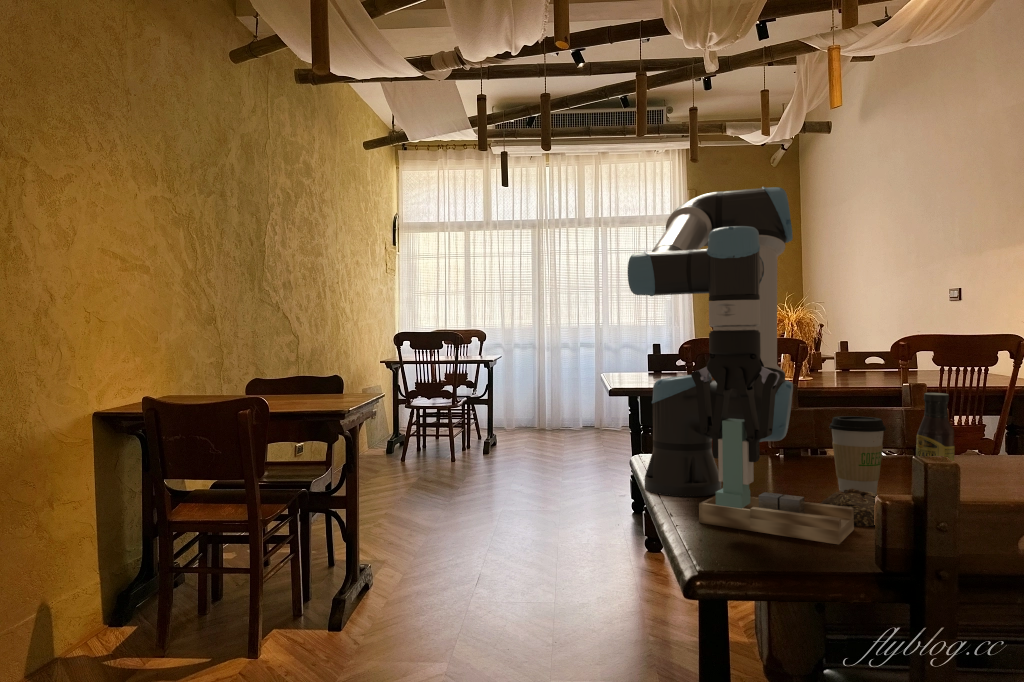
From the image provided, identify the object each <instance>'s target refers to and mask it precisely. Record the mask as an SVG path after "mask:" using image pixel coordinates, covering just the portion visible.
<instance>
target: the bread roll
mask: <svg viewBox="0 0 1024 682" xmlns="http://www.w3.org/2000/svg"><path fill="white" fill-rule="evenodd" d="M877 495H879V494H878V493H876V494H874V493H872V492H864V491H859V490H856V489H847V490H844V492H842V491H839V490H838V491H836V492H833V493H832V494H830V495H829V496H828V497H826V499H823V500H822V501H821V502H819V503H820V504H828V505H836V506H844V507H852V508H854V527H859V526H864V527H863V528H869V527H870V526H871V527H875V526H874V505H875V497H876V496H877Z"/></svg>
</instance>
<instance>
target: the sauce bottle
mask: <svg viewBox="0 0 1024 682" xmlns="http://www.w3.org/2000/svg"><path fill="white" fill-rule="evenodd" d="M923 401H924V413H923V415H924V416H923V418H922V419H921V423H920V425H919V428H918V430H917V433H916V439H915V441H916V443H915V444H916V447H915V457H916V456H944V457H948V458H949V459H950V460H952V461H954V462H955V448H956V447H955V430H954V428H953V426H952V424H951V423H950V421H949V418H948V417H949V414H948V407H949V406H948V405H949V404H948V403H949V401H950V395H949V394H948V393H944V392H943V393H942V392H925V393H924V395H923Z"/></svg>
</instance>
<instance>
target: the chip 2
mask: <svg viewBox="0 0 1024 682" xmlns="http://www.w3.org/2000/svg"><path fill="white" fill-rule="evenodd" d="M804 502H805V496H800V495H789V494H783V496H782V497H780V510H781V511H788V512H795V513H803V514H805V503H804Z"/></svg>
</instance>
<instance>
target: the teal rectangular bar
mask: <svg viewBox="0 0 1024 682" xmlns="http://www.w3.org/2000/svg"><path fill="white" fill-rule="evenodd" d="M746 438H747V434H746V427H745V421H744V419H726V420H723V421H722V442H723V482H722V487H721V489H720V490H718V491H717V492H716V494H715V496H716V505H720V506H727V507H734V508H740V509H742V508H743V507H745V506H747V505H748V504H750V497H751V490H750V484H748V485H745V484H743V458H742V441H744V440H746Z"/></svg>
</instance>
